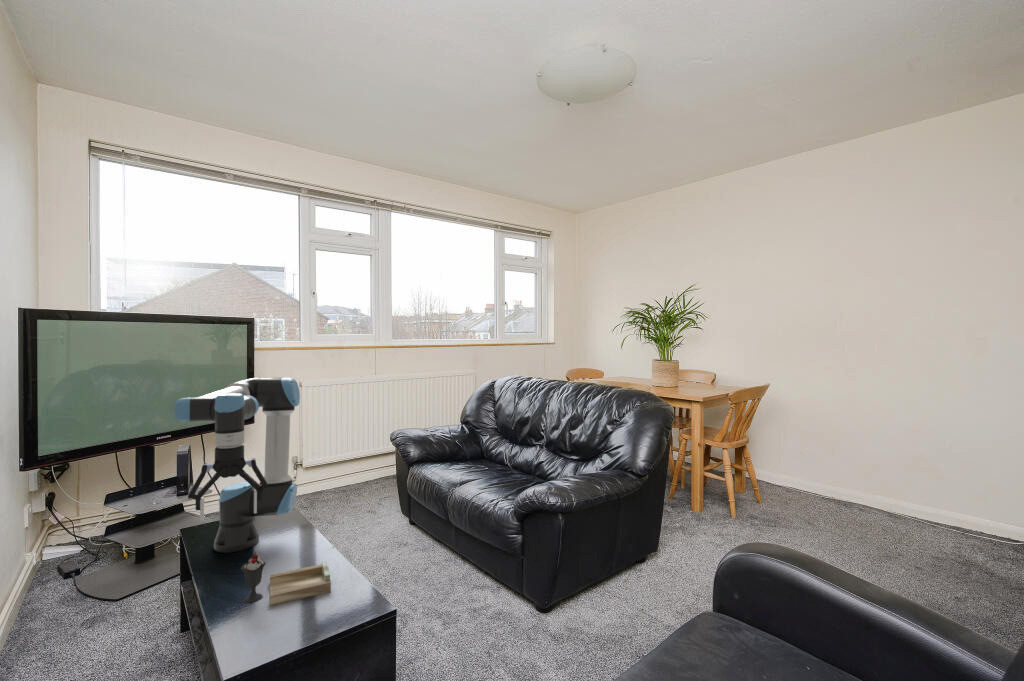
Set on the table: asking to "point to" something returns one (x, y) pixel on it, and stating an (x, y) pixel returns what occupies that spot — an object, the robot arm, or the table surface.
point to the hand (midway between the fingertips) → (229, 516)
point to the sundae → (253, 576)
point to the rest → (299, 583)
